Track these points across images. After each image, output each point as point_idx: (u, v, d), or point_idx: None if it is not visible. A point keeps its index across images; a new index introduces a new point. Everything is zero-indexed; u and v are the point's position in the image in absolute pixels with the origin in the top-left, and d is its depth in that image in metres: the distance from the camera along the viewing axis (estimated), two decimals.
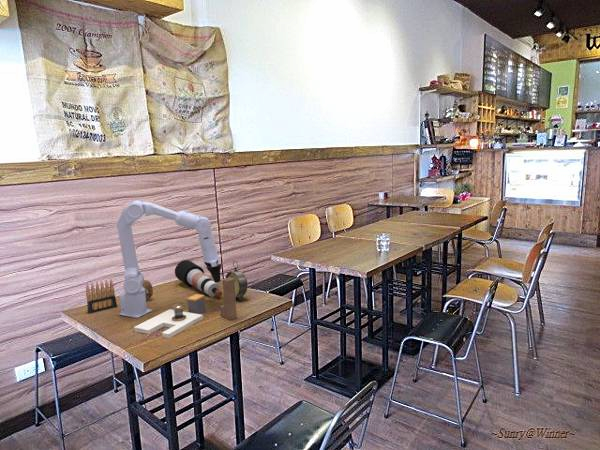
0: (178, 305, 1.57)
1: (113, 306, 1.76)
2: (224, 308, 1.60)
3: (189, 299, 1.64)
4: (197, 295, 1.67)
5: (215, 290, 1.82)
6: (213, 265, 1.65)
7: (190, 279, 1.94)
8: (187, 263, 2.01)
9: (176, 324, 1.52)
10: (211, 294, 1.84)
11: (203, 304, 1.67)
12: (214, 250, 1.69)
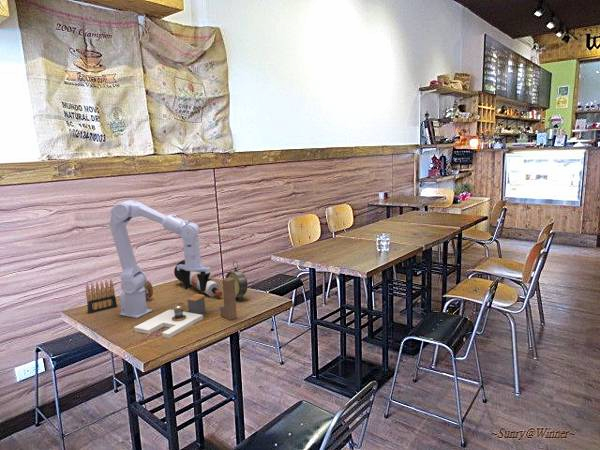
0: (178, 305, 1.57)
1: (113, 306, 1.76)
2: (224, 308, 1.60)
3: (189, 299, 1.64)
4: (197, 295, 1.67)
5: (215, 290, 1.82)
6: (208, 271, 1.60)
7: (190, 279, 1.94)
8: None
9: (176, 324, 1.52)
10: (211, 294, 1.84)
11: (203, 304, 1.67)
12: None
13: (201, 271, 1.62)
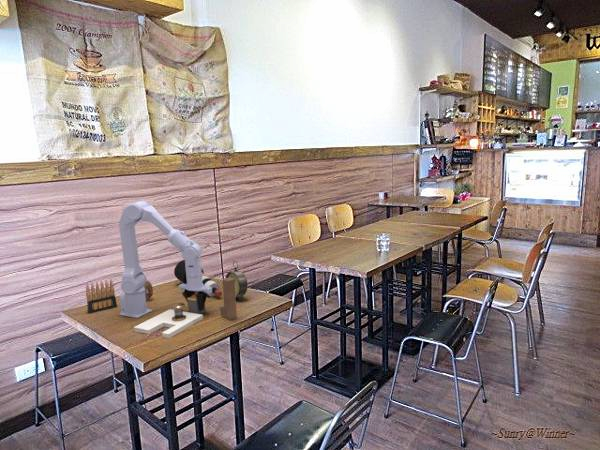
0: (178, 305, 1.57)
1: (113, 306, 1.76)
2: (224, 308, 1.60)
3: (189, 299, 1.64)
4: None
5: (215, 290, 1.82)
6: (210, 292, 1.62)
7: None
8: None
9: (176, 324, 1.52)
10: (211, 294, 1.84)
11: None
12: (201, 277, 1.65)
13: (203, 291, 1.63)
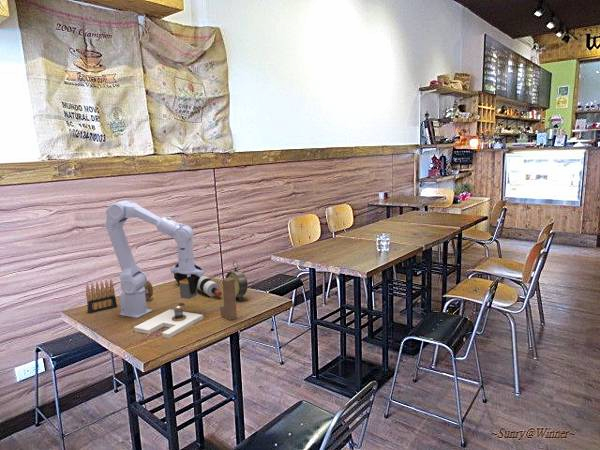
0: (178, 305, 1.57)
1: (113, 306, 1.76)
2: (224, 308, 1.60)
3: (181, 282, 1.63)
4: None
5: (214, 290, 1.82)
6: (202, 275, 1.60)
7: None
8: None
9: (176, 324, 1.52)
10: (210, 294, 1.84)
11: None
12: (193, 261, 1.64)
13: (195, 274, 1.62)
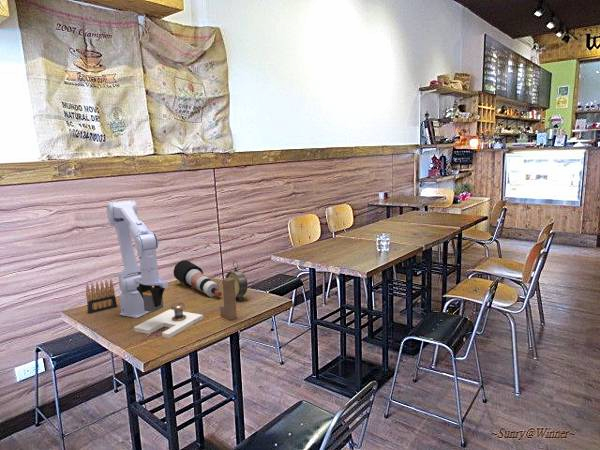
0: (178, 305, 1.57)
1: (113, 306, 1.76)
2: (224, 308, 1.60)
3: (144, 294, 1.50)
4: None
5: (214, 290, 1.82)
6: (166, 286, 1.48)
7: (189, 279, 1.93)
8: (186, 263, 2.00)
9: (176, 324, 1.52)
10: (210, 294, 1.84)
11: None
12: (157, 270, 1.51)
13: (158, 285, 1.49)
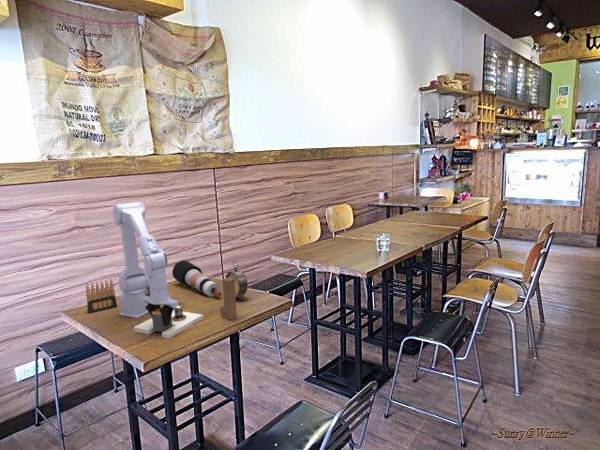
0: (178, 305, 1.57)
1: (113, 306, 1.76)
2: (224, 308, 1.60)
3: (153, 313, 1.48)
4: None
5: (214, 290, 1.82)
6: (175, 306, 1.45)
7: (188, 279, 1.93)
8: (185, 263, 2.00)
9: (176, 324, 1.52)
10: (210, 294, 1.84)
11: None
12: None
13: (168, 305, 1.47)
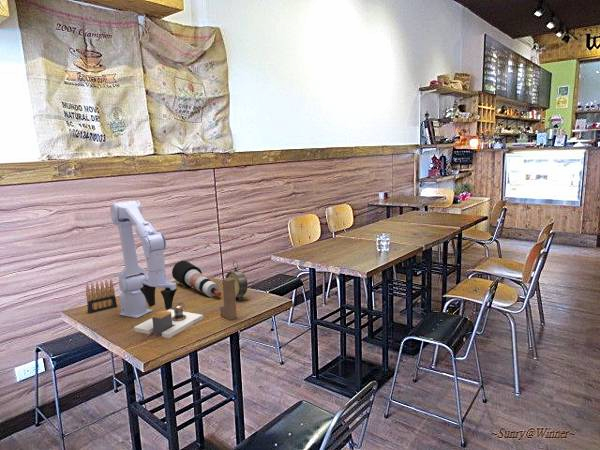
0: (178, 305, 1.57)
1: (113, 306, 1.76)
2: (224, 308, 1.60)
3: (154, 317, 1.48)
4: (163, 312, 1.51)
5: (214, 290, 1.82)
6: (173, 288, 1.44)
7: (188, 280, 1.93)
8: (184, 264, 2.00)
9: (176, 324, 1.52)
10: (210, 294, 1.84)
11: (170, 322, 1.51)
12: (165, 272, 1.48)
13: (166, 287, 1.46)
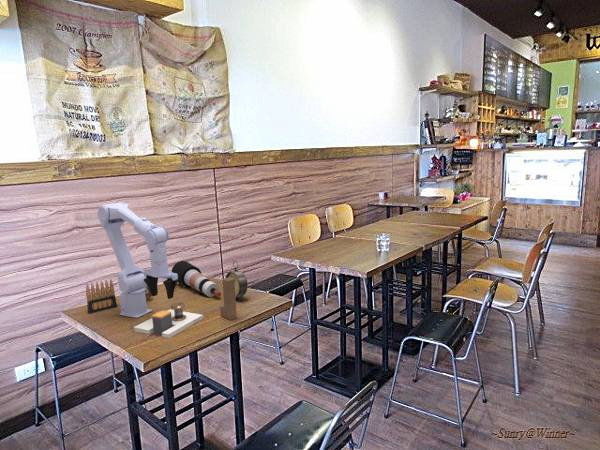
0: (178, 305, 1.57)
1: (113, 306, 1.76)
2: (224, 308, 1.60)
3: (154, 317, 1.48)
4: (163, 312, 1.51)
5: (214, 290, 1.82)
6: (175, 278, 1.53)
7: (187, 280, 1.93)
8: (184, 264, 2.00)
9: (176, 324, 1.52)
10: (209, 294, 1.84)
11: (170, 322, 1.51)
12: (167, 263, 1.57)
13: (168, 277, 1.55)
